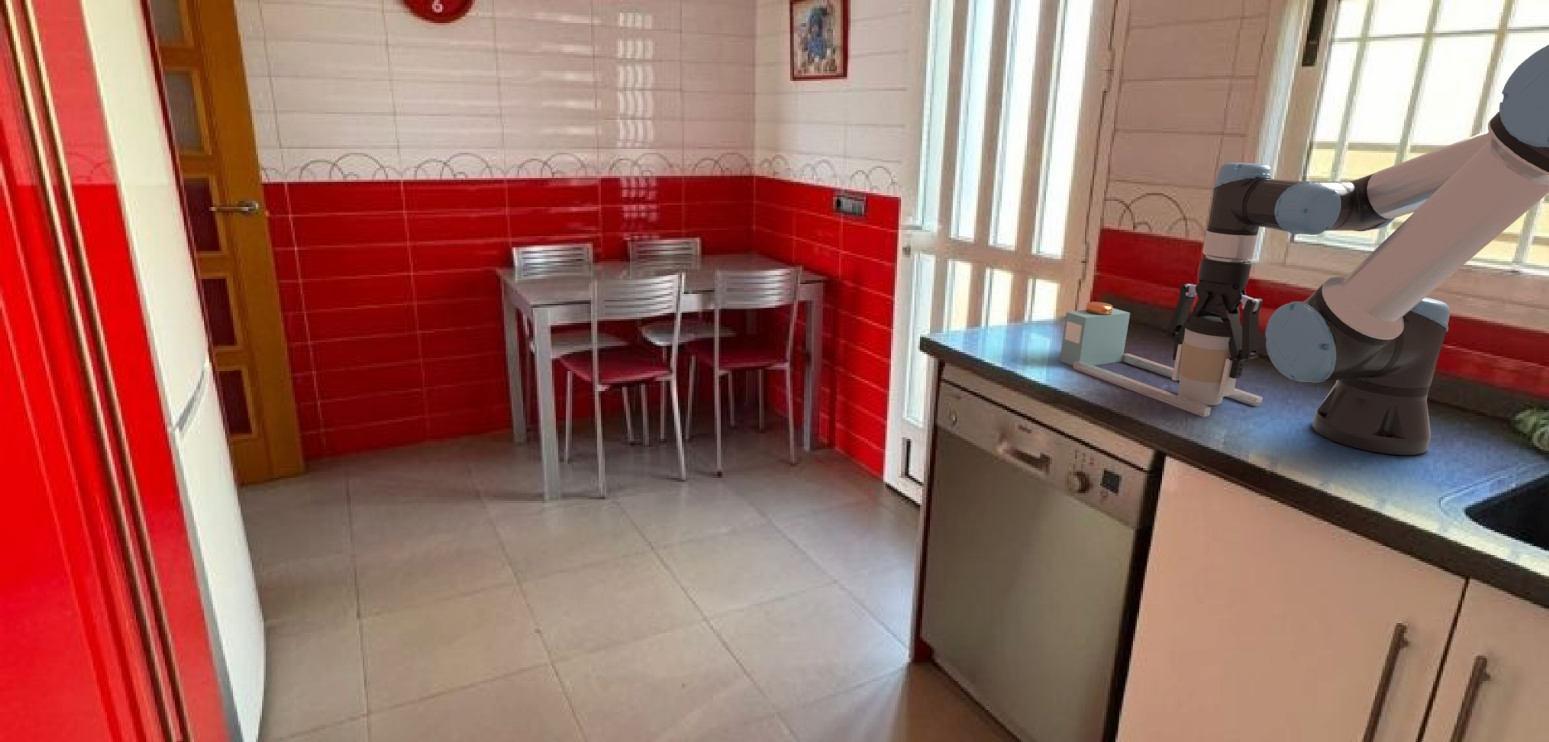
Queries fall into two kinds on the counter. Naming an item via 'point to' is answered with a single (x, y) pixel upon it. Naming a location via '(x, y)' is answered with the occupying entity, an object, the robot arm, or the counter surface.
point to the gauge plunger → (1099, 308)
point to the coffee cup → (1204, 358)
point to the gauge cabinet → (1094, 337)
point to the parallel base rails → (1155, 392)
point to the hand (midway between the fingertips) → (1201, 386)
